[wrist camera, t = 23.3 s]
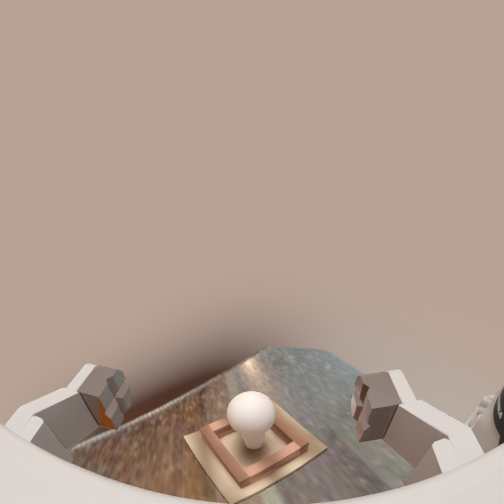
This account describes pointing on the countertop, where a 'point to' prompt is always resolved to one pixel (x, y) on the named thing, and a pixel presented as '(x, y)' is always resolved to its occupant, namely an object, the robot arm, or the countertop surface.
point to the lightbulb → (251, 417)
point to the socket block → (252, 455)
